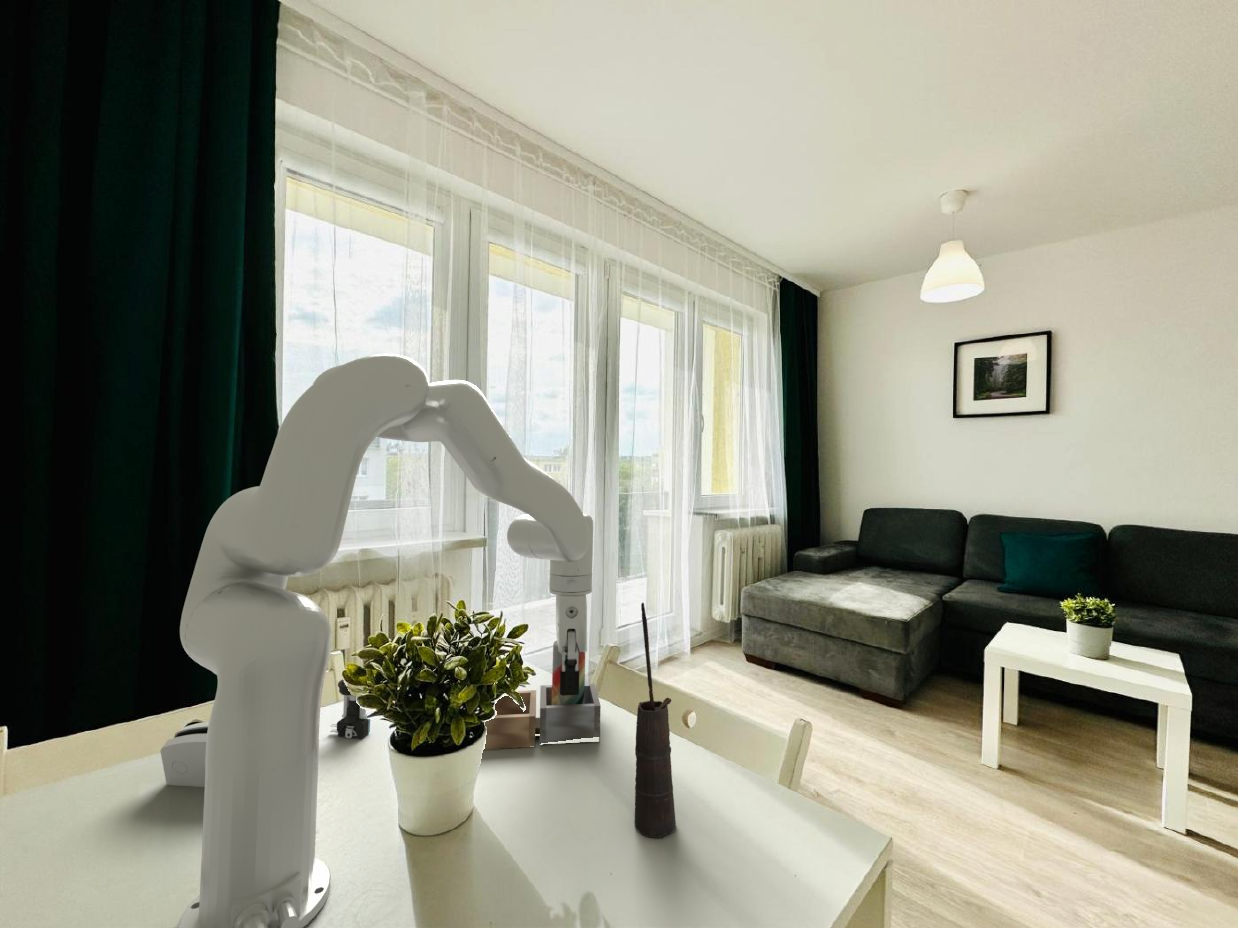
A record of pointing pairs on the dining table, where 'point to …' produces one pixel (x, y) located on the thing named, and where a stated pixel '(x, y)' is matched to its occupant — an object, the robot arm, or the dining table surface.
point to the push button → (351, 717)
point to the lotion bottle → (557, 666)
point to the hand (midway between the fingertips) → (568, 686)
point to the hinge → (186, 756)
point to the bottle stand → (542, 720)
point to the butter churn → (653, 762)
